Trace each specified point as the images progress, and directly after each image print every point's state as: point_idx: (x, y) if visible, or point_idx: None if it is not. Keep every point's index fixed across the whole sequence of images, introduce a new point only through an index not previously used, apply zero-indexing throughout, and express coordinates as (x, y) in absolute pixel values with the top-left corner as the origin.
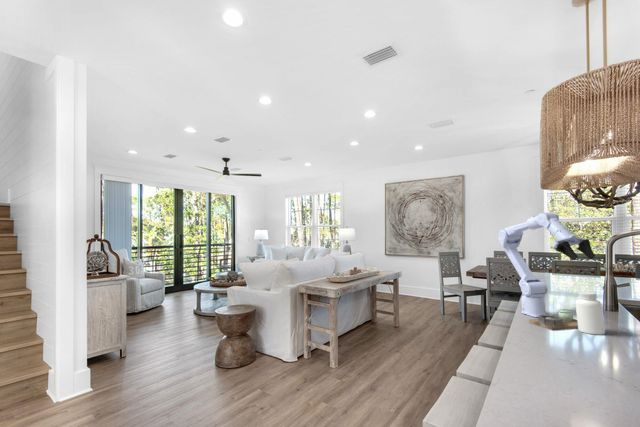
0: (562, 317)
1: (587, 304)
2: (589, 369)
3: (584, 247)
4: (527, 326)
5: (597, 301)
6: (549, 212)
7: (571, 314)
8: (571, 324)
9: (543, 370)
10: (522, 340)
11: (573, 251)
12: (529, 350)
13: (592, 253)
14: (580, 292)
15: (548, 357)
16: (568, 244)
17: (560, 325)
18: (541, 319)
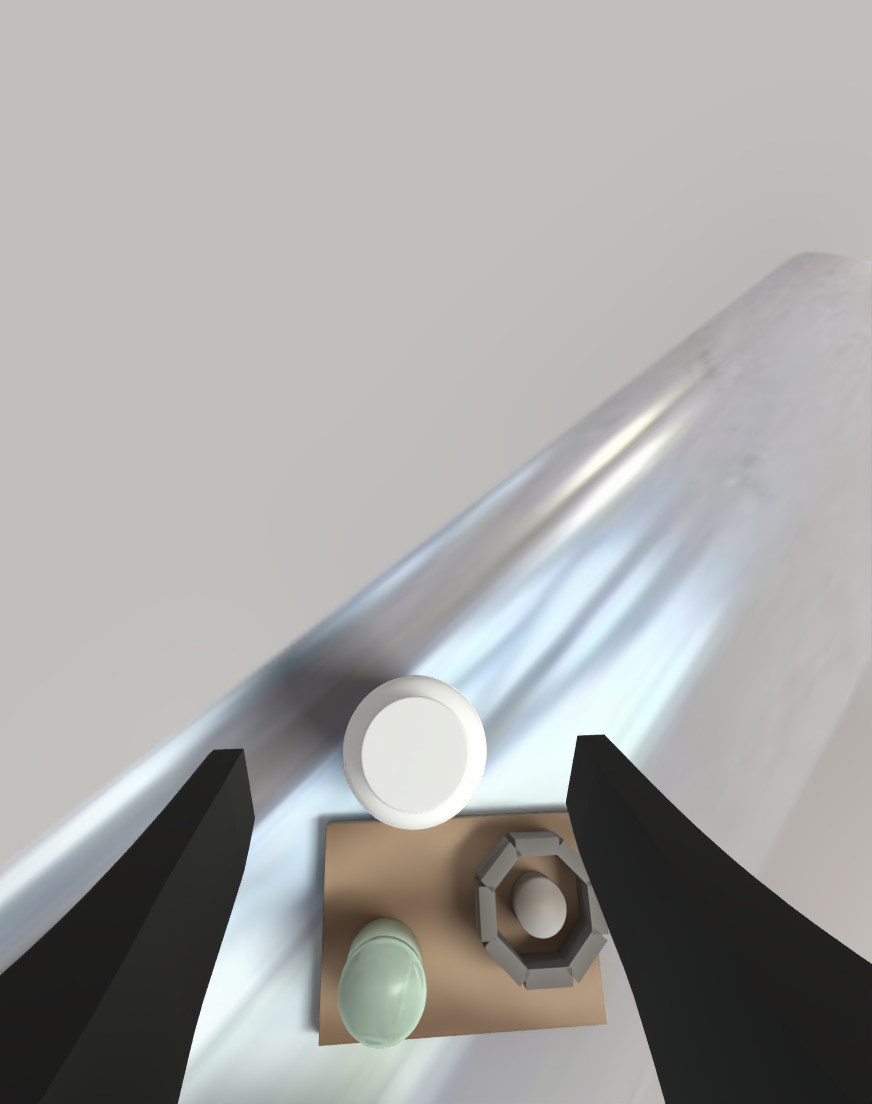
0: (420, 954)
1: (466, 699)
2: (727, 420)
3: (123, 1084)
4: None
5: (395, 693)
6: None
7: (374, 935)
8: (440, 845)
9: (854, 438)
10: (797, 692)
11: (650, 814)
12: (822, 581)
13: (226, 775)
14: (443, 789)
15: (791, 513)
16: (820, 1022)
17: (518, 833)
18: None
